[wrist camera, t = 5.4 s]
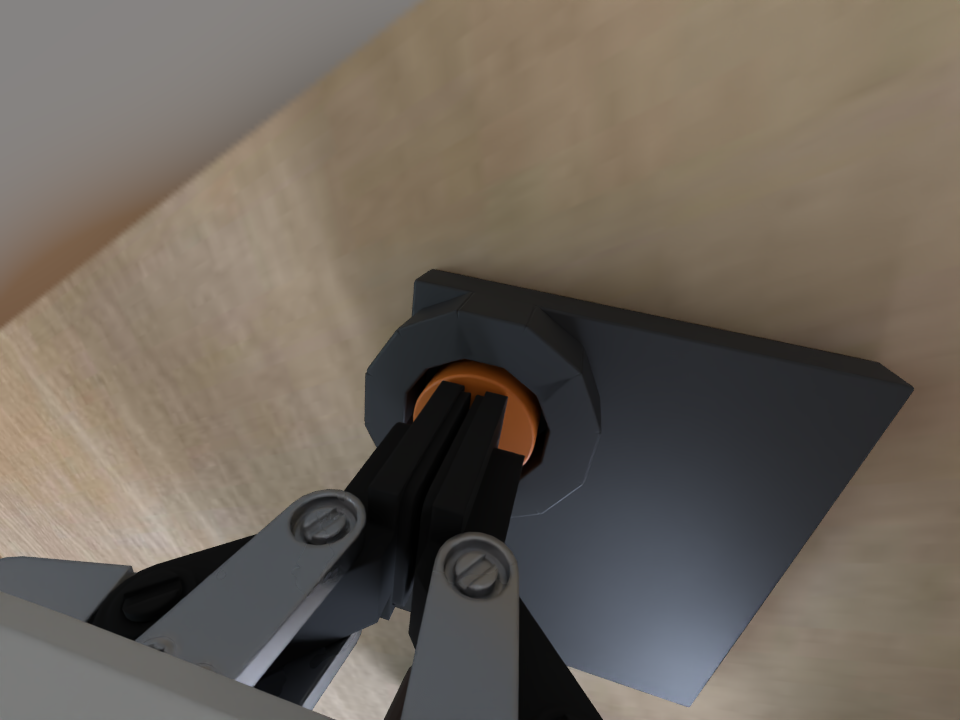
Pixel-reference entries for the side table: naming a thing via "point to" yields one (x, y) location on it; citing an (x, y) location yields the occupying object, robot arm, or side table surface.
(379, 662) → the side table surface
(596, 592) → the scale
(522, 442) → the button
